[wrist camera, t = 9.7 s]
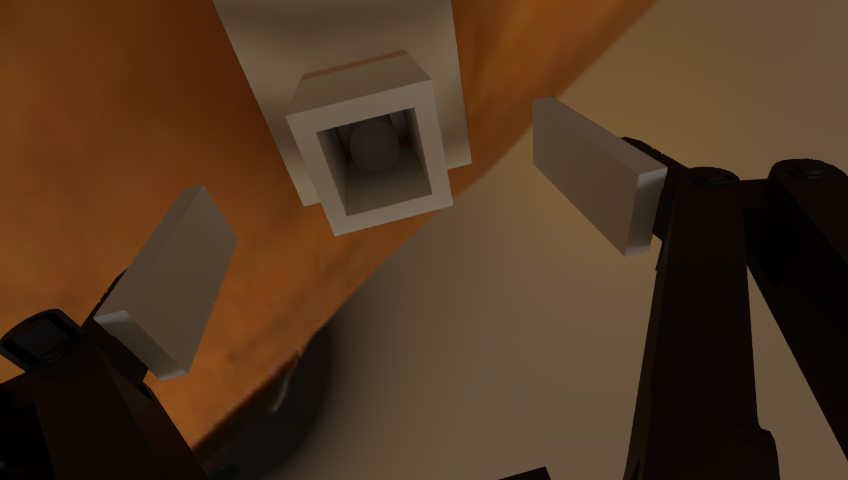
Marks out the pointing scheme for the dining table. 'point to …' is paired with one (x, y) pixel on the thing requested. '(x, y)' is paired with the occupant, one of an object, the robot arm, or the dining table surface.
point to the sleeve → (359, 100)
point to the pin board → (341, 44)
